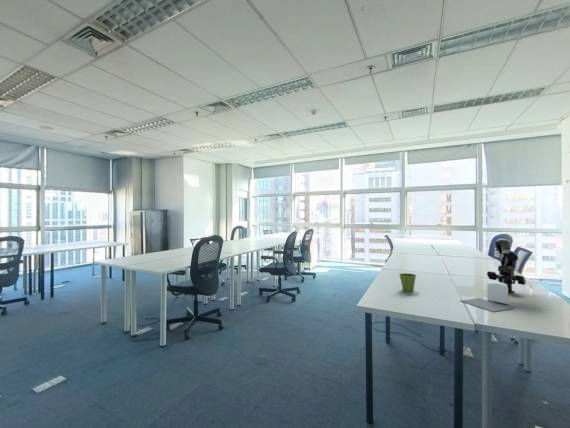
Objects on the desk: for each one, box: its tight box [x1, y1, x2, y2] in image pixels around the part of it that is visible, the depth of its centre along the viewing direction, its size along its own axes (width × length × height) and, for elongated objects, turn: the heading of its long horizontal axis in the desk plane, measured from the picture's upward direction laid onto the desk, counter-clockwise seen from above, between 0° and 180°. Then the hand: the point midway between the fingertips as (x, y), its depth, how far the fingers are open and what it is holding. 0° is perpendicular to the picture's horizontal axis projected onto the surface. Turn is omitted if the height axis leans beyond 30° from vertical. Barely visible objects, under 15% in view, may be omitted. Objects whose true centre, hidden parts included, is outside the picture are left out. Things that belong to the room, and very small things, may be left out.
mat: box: [460, 297, 515, 313], centre depth 158 cm, size 16×20×1 cm
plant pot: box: [398, 272, 417, 292], centre depth 191 cm, size 12×12×11 cm
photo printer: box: [486, 281, 509, 305], centre depth 162 cm, size 10×4×12 cm, turn 39°
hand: (501, 288), depth 165 cm, fingers closed
